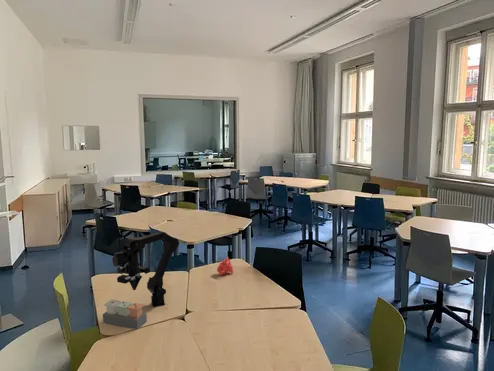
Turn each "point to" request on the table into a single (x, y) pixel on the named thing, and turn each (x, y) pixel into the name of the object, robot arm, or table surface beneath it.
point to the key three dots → (135, 310)
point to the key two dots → (123, 308)
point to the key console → (125, 320)
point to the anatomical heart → (225, 267)
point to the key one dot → (112, 306)
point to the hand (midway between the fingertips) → (134, 290)
